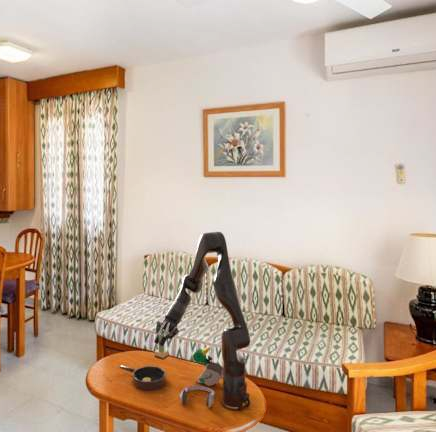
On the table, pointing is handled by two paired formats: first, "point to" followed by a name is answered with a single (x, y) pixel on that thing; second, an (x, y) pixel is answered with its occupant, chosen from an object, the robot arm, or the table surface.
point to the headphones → (209, 397)
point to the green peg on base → (161, 350)
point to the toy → (208, 368)
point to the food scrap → (146, 379)
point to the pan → (151, 372)
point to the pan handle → (127, 368)
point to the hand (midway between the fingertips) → (158, 344)
